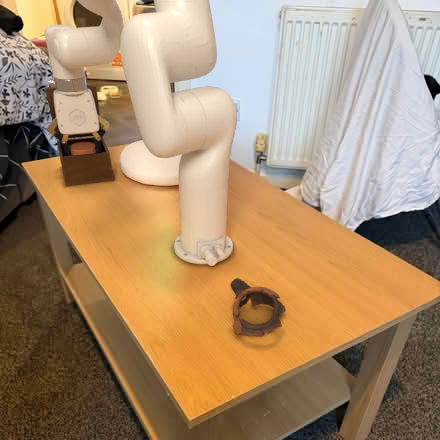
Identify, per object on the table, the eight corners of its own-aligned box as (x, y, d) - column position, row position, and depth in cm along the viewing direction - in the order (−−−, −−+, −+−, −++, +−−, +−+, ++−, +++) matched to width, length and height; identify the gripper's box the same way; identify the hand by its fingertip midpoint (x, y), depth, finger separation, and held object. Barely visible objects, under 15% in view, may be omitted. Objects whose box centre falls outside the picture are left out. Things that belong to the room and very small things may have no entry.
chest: (113, 180, 113) (109, 152, 108) (66, 186, 110) (59, 157, 105) (106, 162, 123) (102, 136, 118) (62, 167, 120) (56, 140, 115)
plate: (229, 165, 111) (133, 181, 102) (227, 186, 116) (135, 203, 107) (190, 124, 129) (106, 134, 120) (190, 144, 134) (109, 155, 125)
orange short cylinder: (98, 160, 112) (96, 149, 110) (72, 163, 110) (70, 151, 108) (95, 152, 117) (93, 140, 114) (70, 154, 115) (68, 142, 113)
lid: (96, 86, 106) (93, 75, 109) (44, 89, 103) (42, 78, 105) (102, 135, 118) (99, 124, 120) (56, 139, 114) (54, 128, 117)
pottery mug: (296, 322, 72) (297, 306, 64) (257, 358, 70) (253, 346, 63) (250, 277, 76) (245, 257, 69) (212, 311, 75) (203, 294, 67)
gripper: (34, 90, 96) (51, 164, 108) (108, 86, 101) (118, 157, 113) (33, 82, 102) (50, 154, 113) (104, 79, 107) (113, 147, 118)
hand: (84, 155), depth 113 cm, fingers closed on orange short cylinder, 6 cm apart
